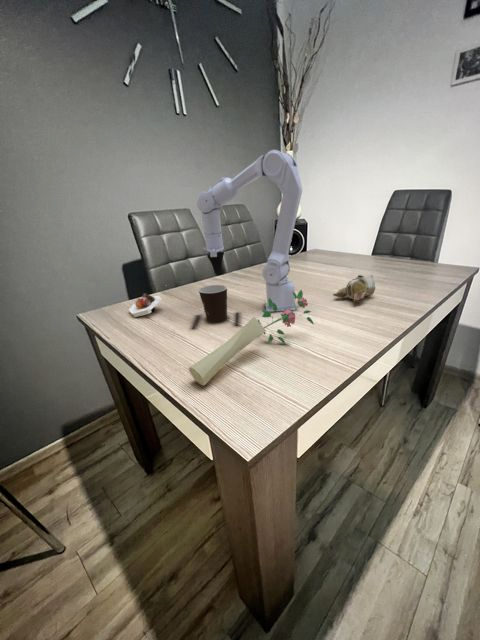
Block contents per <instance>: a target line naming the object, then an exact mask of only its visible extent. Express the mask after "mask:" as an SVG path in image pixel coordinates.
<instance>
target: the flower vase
mask: <svg viewBox="0 0 480 640" xmlns="http://www.w3.org/2000/svg"><path fill="white" fill-rule="evenodd" d="M293 295H294V297H295V304H296V305H297V306H296V308H295V309H294V310H291V309H288V310H287V309H285V311H282V313H281V314H280V316H281V317H279V318H278V319H275V320H272V321H271V322H270V323H268V324H267V325H265V326H263V324H262V323H261V321H260V320H259V319H257V318H256V317H255V316H253V317H252V318H251V319H250V320H249V321H248V322H247V323H246V324H245V325H244V326H243V327H242V328H240V330H239V331H238V332H236V333H234V335H233V336H231V338H229V339H228V340H227V341H226V342H225V343H223V344H221V345H220V346H219V347H217V348H216V349H215V350H213V351H212V352H210V353H209V354H207V355H205V357H203V358H201V359H200V360H199V361H197V362H196V363H194V364H193V365H191V366H189V367H188V372H189V374H190V375H191V377H192V378H193V379H194V381H196V382H197V383H198V384H199V385H201V386H206V385H207V383H208V382H210V381H211V379H212V378H213V377H215V375H216V374H217V373H218V372H219V371H220V370H221V369H222V368H223V367H225V365H226V364H227V363H229V362H230V360H231V359H233V358H234V357H235V356H236V355H237V354H238V353H239V352H241V351H242V350H243V349H245V348H246V347H247V346H248V345H250V344H251V343H252V342H254V341H255V340H256V339H259V338H260V337H261V336H262V335H266V332H267V330H269V331H270V332H271V334H269V336H268V338H267V339H268V340H267V344H269V343H271V342H273V340H274V336H273V335H275V334H274V333H273V332H275V333H277V334H279V335H285V332H284V331H283V330H282V329H277V330H276V331H274V330H271V329H269V328H268V327H270V326H272V325H273V324H275V323H278V322H279V321H282V322H281V323H282V324H284V326H286V327H287V328H289V327H290V328H291V327H292V325H294V324H295V323H296V313H295V311H296V310H297V309H298V308H302V309H305V308H306V307H308V304H309V303H308V301H307V298H305V297H303V295H304V293H303V289H300V290H299V291H298V293H297V294H296V292H295V293H294V292H293ZM268 302H269V307H270V308H272V307H273V310H274V311H272V312H269V311H267V310H266V309H262V312H263V314H262V315H261V318H265V319H266V318H271V319H274V315H275V313H273V312H278V311H277V306H276V304H275V303H274V302H272V300H271V299H270V298H269V301H268ZM286 310H287V311H286ZM309 313H312V311H311V310H303V313H302V314H301V315H300V317H301V318H304V319H306V320H307V321H308V322H309V323H310V324H312V325H315V324H314V321H313V319H312V318H311V317H309V316H307V317H305V316H302V315H304V314H305V315H306V314H309ZM266 329H267V330H266ZM272 334H273V335H272ZM276 338H277V339H278V340H280V341H281V342H282V343H283V345H286V342H285V339H284V338H283V337H281V336H276Z"/></svg>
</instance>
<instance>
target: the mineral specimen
mask: <svg viewBox="0 0 480 640" xmlns="http://www.w3.org/2000/svg"><path fill="white" fill-rule="evenodd" d="M161 301H163V298H162V297H160V296H159V295H154V296H152V295H150V294H148V293H145V292H143V294H142V296H141V298H139V297H138V298H137V300H136V301H135V303H133V304H132V305H131V307H130V308H128V311H129V312H130V314H131V315H132V316H133V317H134V318H137V317H142V316H145V315H149V314H151V313H154V312H155V308H156V307H157V306H158V304H160V302H161Z"/></svg>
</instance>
